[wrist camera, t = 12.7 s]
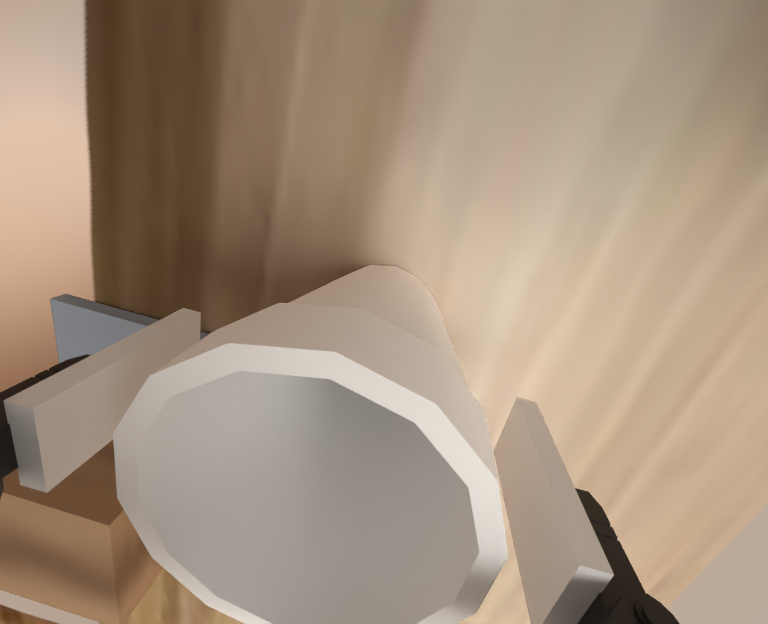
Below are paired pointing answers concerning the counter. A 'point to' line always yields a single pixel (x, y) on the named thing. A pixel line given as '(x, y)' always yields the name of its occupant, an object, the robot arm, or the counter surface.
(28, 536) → the walnut cube
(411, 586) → the foam cup
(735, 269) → the counter surface
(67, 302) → the blue flat board
